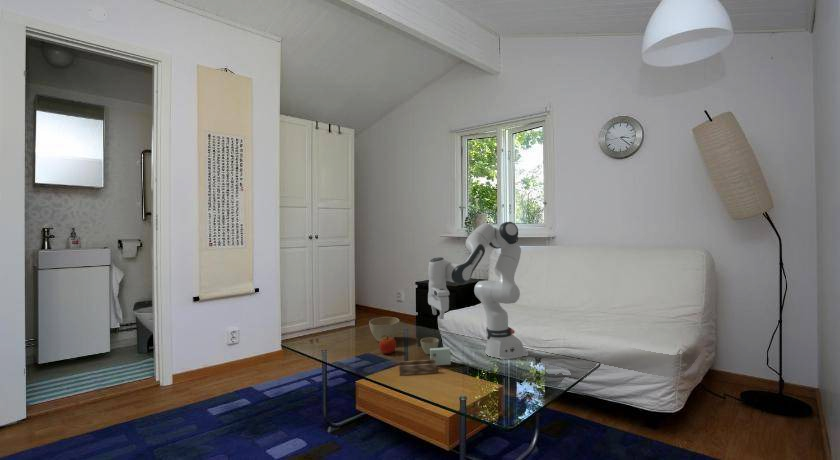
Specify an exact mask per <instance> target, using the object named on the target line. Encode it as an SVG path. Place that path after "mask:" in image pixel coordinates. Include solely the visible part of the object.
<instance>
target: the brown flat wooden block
mask: <svg viewBox="0 0 840 460" xmlns="http://www.w3.org/2000/svg"><path fill="white" fill-rule="evenodd" d="M398 367H399V376H411V375H427V374H437V372H438V370H437V365H436V363H435V359H433V360H430V359H419V360H404V361H403V360H402V361H398Z"/></svg>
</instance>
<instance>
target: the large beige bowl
mask: <svg viewBox="0 0 840 460" xmlns="http://www.w3.org/2000/svg"><path fill="white" fill-rule="evenodd" d="M368 322H369V329H370V332H371V334H372V335H373V337H374V339H375V340H376V341H377V342H378V343H379V342H380V340H381V339H382V338H386V337H382V336H383V335H385V336H388V337H392V338H394V339H395V338H396V336H397V333H398V331H399V327H400V319H399V318H397V317H394V316H393V317H392V316H382V317H381V316H380V317H377V318H376V317H375V318H373V319H370V320H369V321H368ZM381 337H382V338H381Z"/></svg>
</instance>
